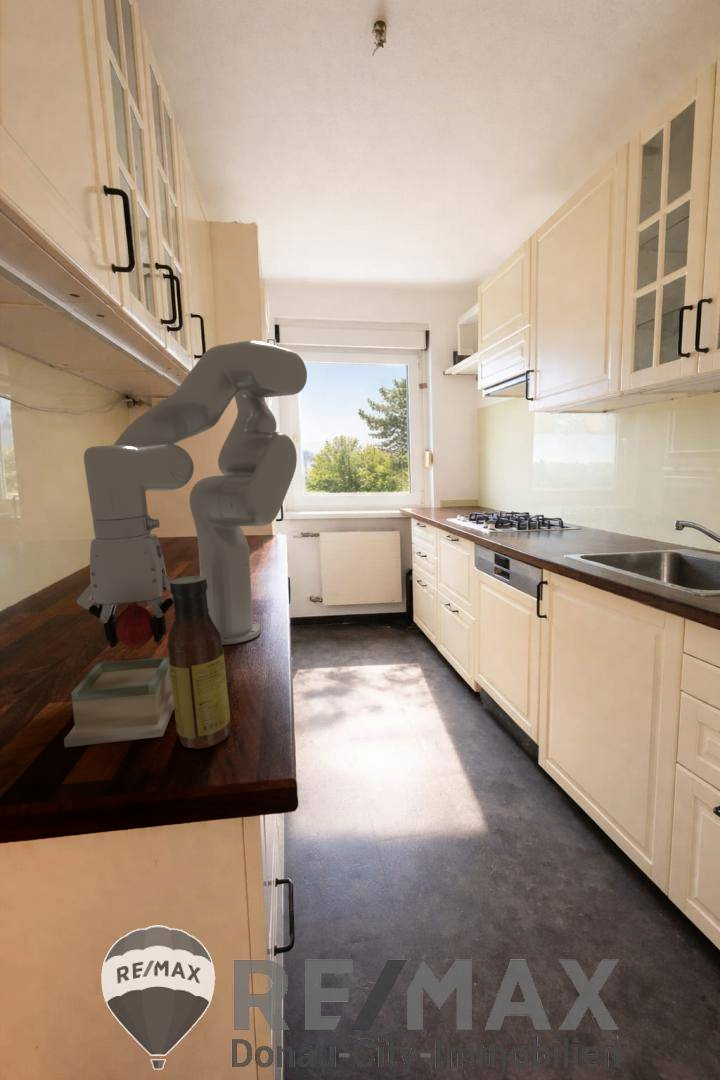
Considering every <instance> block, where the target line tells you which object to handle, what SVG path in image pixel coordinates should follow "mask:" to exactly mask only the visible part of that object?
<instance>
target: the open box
mask: <svg viewBox="0 0 720 1080" xmlns="http://www.w3.org/2000/svg"><path fill="white" fill-rule="evenodd" d="M169 660H170V658H169V656H164V657H163V656H160V657H150V658H139V659H137V658H136V659H123V660H113V661H99V662H98V663H96V664H95V666H93V668H92V669H91V670H90V671H89V672H88V674H86V675H85V677H84V678H83V679H82V680H81V681H80V682H79V683H78V685H76V687H75V688H74V689H73V690H72V691H70V693H71V702H72V703H71V704H72V712H73V723H74V725H73V727H72V729H71V730H70V731H69V732H68V733H67V735H66V736H65V737H64V739H63V744H64V748H70V747H80V746H88V745H89V746H91V745H98V744H106V743H113V742H114V743H117V742H125V741H135V740H143V739H150V738H151V739H152V738H160V737H164V734H165V731H166V729H167V726H168V724H169V722H170V720H171V718H172V717H171V716H172V715H173V711H175V710H174V700H173V692H172V683H171V675H170V667H169Z"/></svg>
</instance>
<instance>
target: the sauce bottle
mask: <svg viewBox="0 0 720 1080" xmlns="http://www.w3.org/2000/svg"><path fill="white" fill-rule="evenodd" d="M170 590H171V592H170V594H171V593H172V595H173V600H174V603H173V607H174V613H173V616H174V621H173V624H172V626H171V628H170V630H169V632H168V634H167V635H168V636H167V646H166V647H167V648H168V649H167V650H168V657H169V658H170V660H169V667H170V675H171V683H172V692H173V700H174V710H173V711H174V718H175V726H176V728H175V729H176V732H177V734H178V738H179V741H180V743H181V745H182V746H183V747H184V748H188V749H189V748H190V749H197V750H199V749H200V750H202V749H207V748H211V747H213V746H216V745H219V744H220V743H221V742H223V741H226V738H228V737H229V734H230V732H231V712H230V702H229V694H228V693H229V692H228V684H227V683H228V682H227V674H226V664H225V663H226V662H225V661H226V660H225V653H224V647H223V646H224V645H222V642H221V637H220V633H219V631H218V630H217V628H216V627H215V625H214V623H213V621H212V619H211V617H210V615H209V608H208V605H207V594H206V590H207V581H206V578H205V577H202V576H200V575H192V576H191V575H189V576H188V575H187V576H182V577H177V578H175V579H172V581H171V582H170Z"/></svg>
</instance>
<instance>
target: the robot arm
mask: <svg viewBox="0 0 720 1080" xmlns="http://www.w3.org/2000/svg"><path fill="white" fill-rule="evenodd" d="M307 379H308V373H307V367H306V365H305V362H304V360H303V359H302V358H301V356H300V355H299V354H298V353H296V352H295V351H293V350H291V349H287V348H284V347H279V346H277V345H274V344H272V343H271V344H270V343H268V342H267V343H266V342H264V341H257V340H245V341H238V342H231V343H227V344H225V343H224V344H219V345H216V346H212V347H211V348H209V349H207V350H206V351H205V352H204V353H203V354H202V356H201V357H200V358H199V360H198V361H197V362H196V364H195V365H194V366H193V368H192V369H191V370H190V372H189V373H188V374H187V375H186V376H185V378H184V380H183V381H182V382H181V384H180V385H179V386H178V388H177V389H176V390H175V391H174V392H173V393H172V394H170V395H169V396H168V397H166V398H164V399H163V400H161V401H160V402H158V403H157V404H155V405H154V406H153V407H151V408H150V409H149V410H147V411H145V412H143V413H142V414H141V415H140V416H138V417H137V418H136V419H134V420H133V421H132V422H131V423H130V424H129V425H128V426H127V427H126V428H125V430H123V432H122V433H121V435H120V436H119V437H118V438H117V439H116V441H115V442H114V443H113V444H112V445H111V444H109V445H94V446H90V447H88V448H86V450H85V451H84V453H83V463H84V471H85V478H86V483H87V484H86V485H87V491H88V497H89V504H90V511H91V518H92V525H93V532H94V537H95V538H93V539H92V540H91V541H90V550H89V578H90V579H89V581H90V584H89V585H88V586H87V587H86V589H84V590H83V592H82V593H81V595H80V596H79V597H77V600H76V603H77V604H78V606H80V607H82V608H84V609H85V610H87V611H88V612H89V613H90V614H91V615H93V616H94V617H96V619H99V622H100V623H102V624H103V627H104V636H105V640H106V641H109V647H110V648H115V647H117V645H118V644H119V643H120V642H121V641H120V640H119V639H118V638H117V635H116V631H115V624H116V620H117V618H118V616H117V615H116V614H115V611H116V607H117V605H123V604H129V603H137V604H138V603H146V602H147V604H148V606H149V609H150V610H151V611H152V614H153V616H154V617H153V619H152V626H153V634H154V635H153V640H154V643H157V644H158V643H161V641H162V639H163V638H164V636H165V635H166V634H167V624H166V617H165V614H166V612H167V611H168V610H169V609H170V608H171V607H172V606H173V605H174V600H173V595H172V593H171V590H170V582H171V581H172V580H173V579H172V578H170V577H169V575H167V570H166V566H165V560H164V555H163V552H162V547H161V544H160V540H159V538H158V536H157V534H156V533H151V532H152V530H154V529H157V528H160V519H158V518H156V519H155V518H151V517H150V514H149V511H148V510H149V509H148V504H147V503H148V502H147V496H146V492H147V491H155V492H156V491H158V492H159V491H160V492H162V491H163V492H165V491H166V492H167V491H168V492H169V491H174V490H175V491H176V490H179V489H180V488H183V487H184V486H186V485H187V484H188V483H189V482H190V480H191V479H192V478H193V475H194V469H195V468H194V461H193V458H192V457H191V455H190V453H188V452H187V450H185V449H184V448H183V447H181V446H179V445H177V443H179V442H181V441H183V440H186V439H189V438H192V437H194V436H197V435H199V434H202V433H204V432H206V431H207V430H209V429H211V428H213V427H215V426H216V425H217V423H219V421H220V419H221V418H222V416H223V414H224V413H225V411H226V409H227V408H228V407H229V404H230V403H232V400H233V398H234V399H235V403H236V407H237V409H236V410H237V415H236V418H235V421H234V423H233V424H232V426H231V429H230V431H229V433H228V435H226V436H227V437H226V439H225V440H224V443H222V444H223V445H222V447H221V449H220V451H219V455H218V457H217V465H218V469H219V471H220V472H221V474H222V475H213V476H207V477H204V478H201V479H199V480H198V481H197V482H196V483H195V484H194V485H193V487H192V488H191V491H190V494H189V509H190V512H191V515H192V518H193V522H194V526H195V532H196V538H197V547H198V560H199V576H202V577H205V578H206V581H207V590H206V594H207V605H208V608H209V615H210V617H211V619H212V621H213V623H214V625H215V627H216V628H217V630H218V631H219V633H220V637H221V642H222V646H226V645H235V644H241V643H244V642H248V641H250V640H253V639H255V638H256V637H258V636H259V635H260V634H261V633H262V628H261V627H262V626H261V625H260V624H259V623H258V622H255V621H253V620H254V619H253V599H252V580H251V578H252V577H251V562H250V561H251V559H250V556H251V555H250V546H249V541H248V539H247V537H246V535H245V533H244V531H243V530H242V528H241V527H264V526H268V525H270V524H272V523H273V521H275V519H276V518H277V516H278V515H279V512H280V511H281V508H282V505H283V504H284V501H285V498H286V496H287V493H288V491H289V488H290V485H291V484H292V483H291V482H292V481H293V478H294V475H295V472H296V467H297V460H298V459H297V456H298V455H297V450H296V449H297V448H296V445H295V444H294V441H293V440H292V439H291V437H290V436H288V435H287V434H286V433H283V432H280V431H277V421H276V417H275V416H274V414H273V412H272V410H271V409H270V408H269V407H268V404H267V402H266V400H265V398H273V397H283V396H284V397H285V396H293V395H296V394H299V393H300V392H301V391H303V390H304V388H305V386H306V384H307ZM167 590H168V591H169V592H170V595H168V596H167V598H165V600H164V601H163V599H162V596H163V595H164V593H165V592H167Z"/></svg>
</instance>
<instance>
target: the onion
mask: <svg viewBox="0 0 720 1080" xmlns="http://www.w3.org/2000/svg"><path fill="white" fill-rule="evenodd" d="M127 605H128V606H127V607H126V608H125V609H124V610H122V612H120V613H119V615H118V616H117V620H116V624H115V631H116V635H117V638H118V639H119V640H120V642H121V643H122V644H123V645H124V646H125V645H126V646H127V647H129V648H132V649H134V650H141V649H143V647H144V646H145V645H146V644H148V642H150V641H151V639H152V638H153V637H154V634H153V626H152V619H153V617H154V614H153V613H152V612H151V611H150V610H149V609H148V608H146V607H144V606H141V605H139V604H138V602H137V603H128V604H127Z"/></svg>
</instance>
